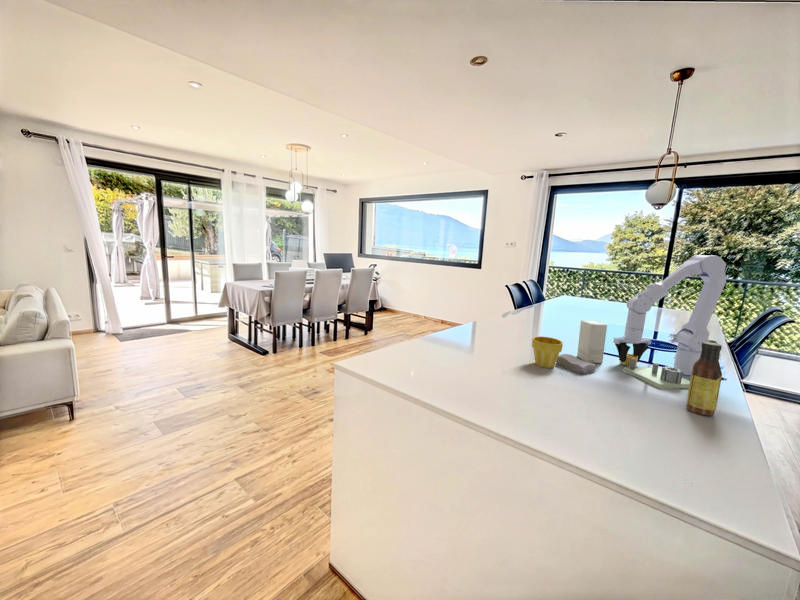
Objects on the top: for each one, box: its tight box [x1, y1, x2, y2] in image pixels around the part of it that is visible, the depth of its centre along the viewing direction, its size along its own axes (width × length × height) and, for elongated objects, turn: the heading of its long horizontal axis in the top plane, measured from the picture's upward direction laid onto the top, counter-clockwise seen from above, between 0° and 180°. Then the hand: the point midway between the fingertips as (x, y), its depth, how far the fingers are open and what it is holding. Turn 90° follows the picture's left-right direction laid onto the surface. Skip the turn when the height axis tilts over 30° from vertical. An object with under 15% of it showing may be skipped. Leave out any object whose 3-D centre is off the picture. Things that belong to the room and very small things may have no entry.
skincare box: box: [576, 320, 608, 364], centre depth 135 cm, size 8×7×16 cm
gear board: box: [623, 359, 690, 390], centre depth 118 cm, size 14×15×6 cm
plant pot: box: [531, 335, 564, 369], centre depth 126 cm, size 10×10×10 cm
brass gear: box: [619, 353, 638, 368], centre depth 132 cm, size 5×5×4 cm
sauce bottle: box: [685, 341, 723, 417], centre depth 94 cm, size 6×6×20 cm
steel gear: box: [660, 366, 684, 384], centre depth 113 cm, size 5×5×4 cm
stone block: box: [555, 353, 596, 375], centre depth 126 cm, size 12×5×10 cm
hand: (628, 361), depth 133 cm, fingers closed on brass gear, 5 cm apart
